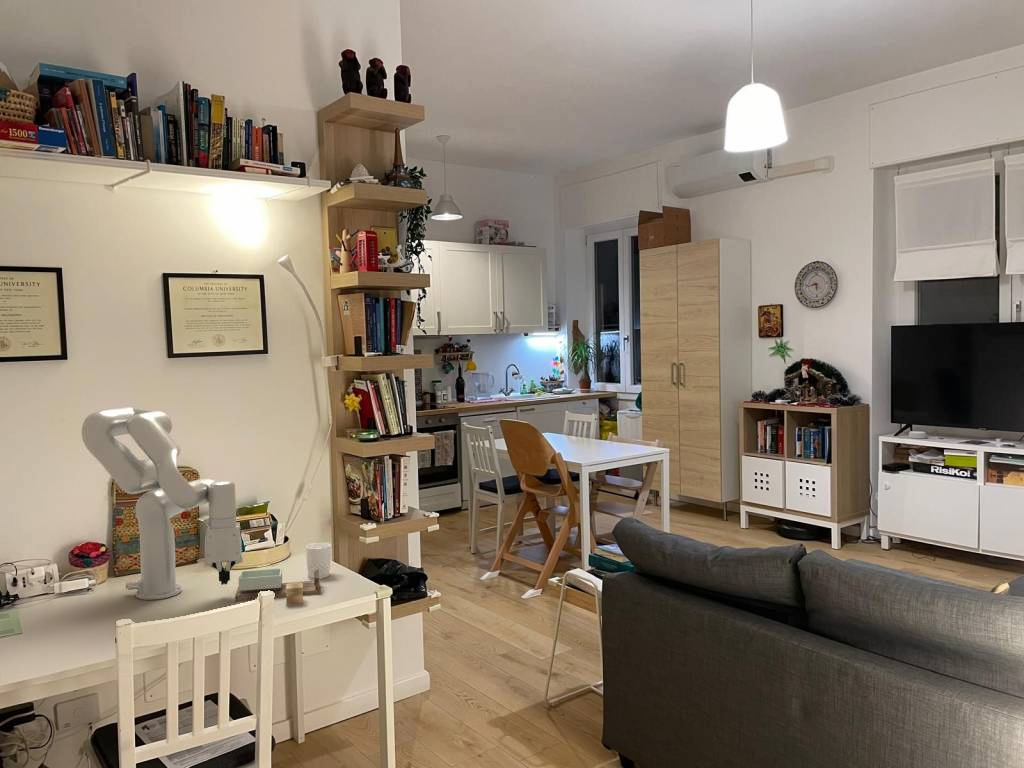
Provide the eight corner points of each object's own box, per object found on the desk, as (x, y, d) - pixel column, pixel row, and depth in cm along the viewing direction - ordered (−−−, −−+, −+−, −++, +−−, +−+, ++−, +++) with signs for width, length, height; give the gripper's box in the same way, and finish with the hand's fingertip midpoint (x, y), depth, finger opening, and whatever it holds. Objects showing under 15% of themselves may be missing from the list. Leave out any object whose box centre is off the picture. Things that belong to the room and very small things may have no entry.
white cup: (325, 580, 246) (325, 549, 246) (302, 579, 248) (301, 548, 247) (335, 572, 254) (334, 542, 254) (312, 571, 256) (311, 542, 255)
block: (286, 605, 222) (286, 588, 222) (286, 601, 227) (286, 584, 226) (302, 604, 223) (302, 587, 223) (302, 599, 228) (302, 582, 228)
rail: (235, 600, 227) (234, 584, 226) (238, 590, 236) (237, 574, 236) (319, 593, 233) (319, 578, 232) (319, 584, 242) (318, 569, 242)
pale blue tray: (238, 594, 228) (238, 578, 228) (241, 586, 236) (241, 571, 235) (281, 591, 231) (280, 575, 231) (282, 583, 239) (282, 568, 238)
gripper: (193, 527, 224) (195, 589, 225) (248, 523, 228) (249, 584, 229) (197, 521, 231) (199, 581, 232) (250, 518, 235) (251, 577, 236)
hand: (224, 583), depth 230 cm, fingers closed
